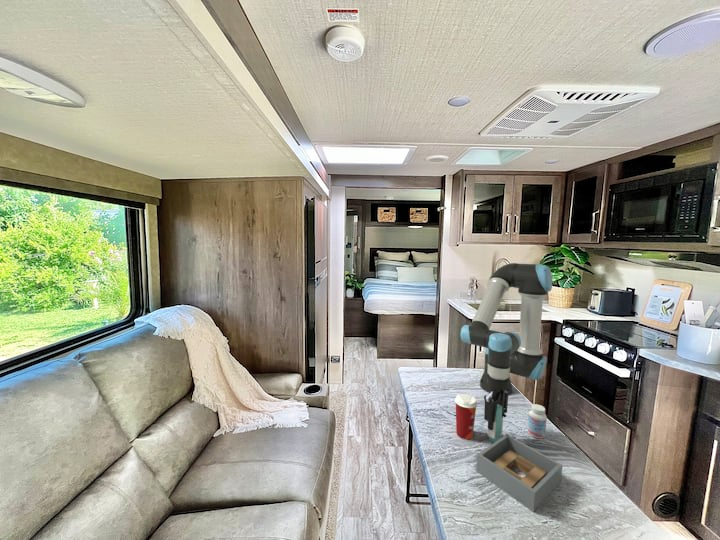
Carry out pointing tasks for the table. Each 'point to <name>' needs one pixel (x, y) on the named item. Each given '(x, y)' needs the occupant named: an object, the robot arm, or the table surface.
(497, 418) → the peg
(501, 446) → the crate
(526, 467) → the bore block
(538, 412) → the pill bottle
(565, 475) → the table surface
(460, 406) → the coffee cup
